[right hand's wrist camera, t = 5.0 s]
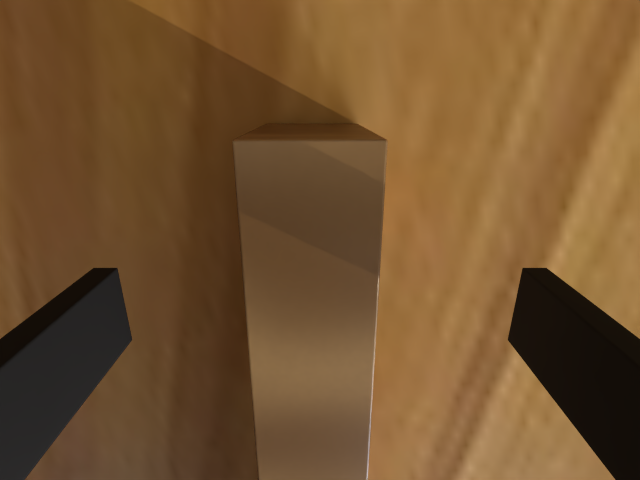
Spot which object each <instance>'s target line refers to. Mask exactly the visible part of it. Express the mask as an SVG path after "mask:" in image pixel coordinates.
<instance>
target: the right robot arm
mask: <svg viewBox="0 0 640 480" xmlns="http://www.w3.org/2000/svg"><path fill="white" fill-rule="evenodd" d="M131 341H132V337H131V332H130V327H129V322H128V317H127V313H126V308H125V303H124V298H123V293H122V288H121V284H120V279H119V274H118V269H117V268H93V269H92V270H90V271H89V272H88V273H86V274H85V275H84V276H83V277H81V278H80V279H79V280H77V281H76V282H75V283H73V284H72V285H71V286H69V287H68V288H67V289H65V290H64V291H63V292H61V293H60V294H59V295H58V296H56V297H55V298H54V299H52V300H51V301H50V302H48V303H47V304H46V305H44V306H43V307H42V308H40V309H39V310H38V311H37V312H35V313H34V314H33V315H31V316H30V317H29V318H27V319H26V320H25V321H23V322H22V323H21V324H19V325H18V326H17V327H16V328H14V329H13V330H12V331H10V332H9V333H8V334H6V335H5V336H4V337H2V338H1V339H0V480H25V478H26V477H27V476H28V474H29V473H30V472H31V471H32V469H33V468H34V467H35V465H36V464H37V463H38V461H39V460H40V459H41V458H42V456H43V455H44V454H45V452H46V451H47V450H48V448H49V447H50V446H51V445H52V443H53V442H54V441H55V439H56V438H57V437H58V435H59V434H60V433H61V432H62V430H63V429H64V428H65V426H66V425H67V424H68V422H69V421H70V420H71V419H72V417H73V416H74V415H75V413H76V412H77V411H78V409H79V408H80V407H81V406H82V404H83V403H84V402H85V400H86V399H87V398H88V396H89V395H90V394H91V393H92V391H93V390H94V389H95V387H96V386H97V385H98V383H99V382H100V381H101V380H102V378H103V377H104V376H105V374H106V373H107V372H108V370H109V369H110V368H111V367H112V365H113V364H114V363H115V361H116V360H117V359H118V357H119V356H120V355H121V354H122V352H123V351H124V350H125V348H126V347H127V346H128V345H129V343H130V342H131ZM508 341H509V342H510V343H511V345H512V346H513V347H514V348H515V350H516V351H517V352H518V354H519V355H520V356H521V357H522V359H523V360H524V361H525V363H526V364H527V365H528V367H529V368H530V369H531V370H532V372H533V373H534V374H535V376H536V377H537V378H538V380H539V381H540V382H541V383H542V385H543V386H544V387H545V389H546V390H547V391H548V393H549V394H550V395H551V396H552V398H553V399H554V400H555V402H556V403H557V404H558V406H559V407H560V408H561V409H562V411H563V412H564V413H565V415H566V416H567V417H568V419H569V420H570V421H571V422H572V424H573V425H574V426H575V428H576V429H577V430H578V432H579V433H580V434H581V435H582V437H583V438H584V439H585V441H586V442H587V443H588V445H589V446H590V447H591V448H592V450H593V451H594V452H595V454H596V455H597V456H598V458H599V459H600V460H601V461H602V463H603V464H604V465H605V467H606V468H607V469H608V471H609V472H610V473H611V474H612V476H613V477H614V478H615V480H640V339H639V338H638V337H636V336H635V335H634V334H632V333H631V332H630V331H628V330H627V329H626V328H624V327H623V326H622V325H621V324H619V323H618V322H617V321H615V320H614V319H613V318H611V317H610V316H609V315H607V314H606V313H605V312H603V311H602V310H601V309H600V308H598V307H597V306H596V305H594V304H593V303H592V302H590V301H589V300H588V299H586V298H585V297H584V296H582V295H581V294H580V293H579V292H577V291H576V290H575V289H573V288H572V287H571V286H569V285H568V284H567V283H565V282H564V281H563V280H561V279H560V278H559V277H557V276H556V275H555V274H554V273H552V272H551V271H550V270H548V269H547V268H523V269H522V274H521V279H520V284H519V288H518V293H517V298H516V303H515V308H514V313H513V317H512V322H511V327H510V332H509V337H508Z"/></svg>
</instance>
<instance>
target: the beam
mask: <svg viewBox="0 0 640 480" xmlns="http://www.w3.org/2000/svg"><path fill="white" fill-rule="evenodd" d="M232 143H233V156H234V169H235V182H236V195H237V208H238V221H239V234H240V247H241V260H242V273H243V287H244V300H245V313H246V326H247V339H248V352H249V365H250V378H251V391H252V404H253V417H254V430H255V443H256V456H257V469H258V480H368V465H369V448H370V431H371V414H372V397H373V380H374V363H375V346H376V329H377V312H378V295H379V278H380V261H381V245H382V228H383V211H384V194H385V177H386V160H387V143H388V142H387V140H386V139H384V138H383V137H381V136H379V135H377V134H375V133H373V132H371V131H370V130H368V129H366V128H364V127H362V126H360V125H358V124H265V125H263V126H261V127H259V128H257V129H255V130H253V131H251V132H249V133H247V134H245V135H243V136H240V137H238V138H236V139H234V140H233V142H232Z"/></svg>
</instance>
